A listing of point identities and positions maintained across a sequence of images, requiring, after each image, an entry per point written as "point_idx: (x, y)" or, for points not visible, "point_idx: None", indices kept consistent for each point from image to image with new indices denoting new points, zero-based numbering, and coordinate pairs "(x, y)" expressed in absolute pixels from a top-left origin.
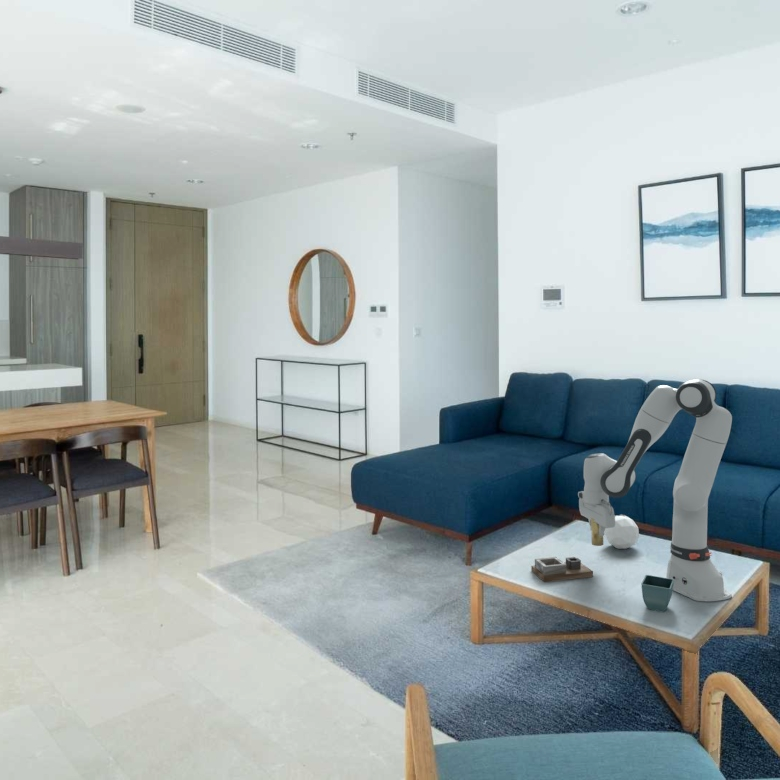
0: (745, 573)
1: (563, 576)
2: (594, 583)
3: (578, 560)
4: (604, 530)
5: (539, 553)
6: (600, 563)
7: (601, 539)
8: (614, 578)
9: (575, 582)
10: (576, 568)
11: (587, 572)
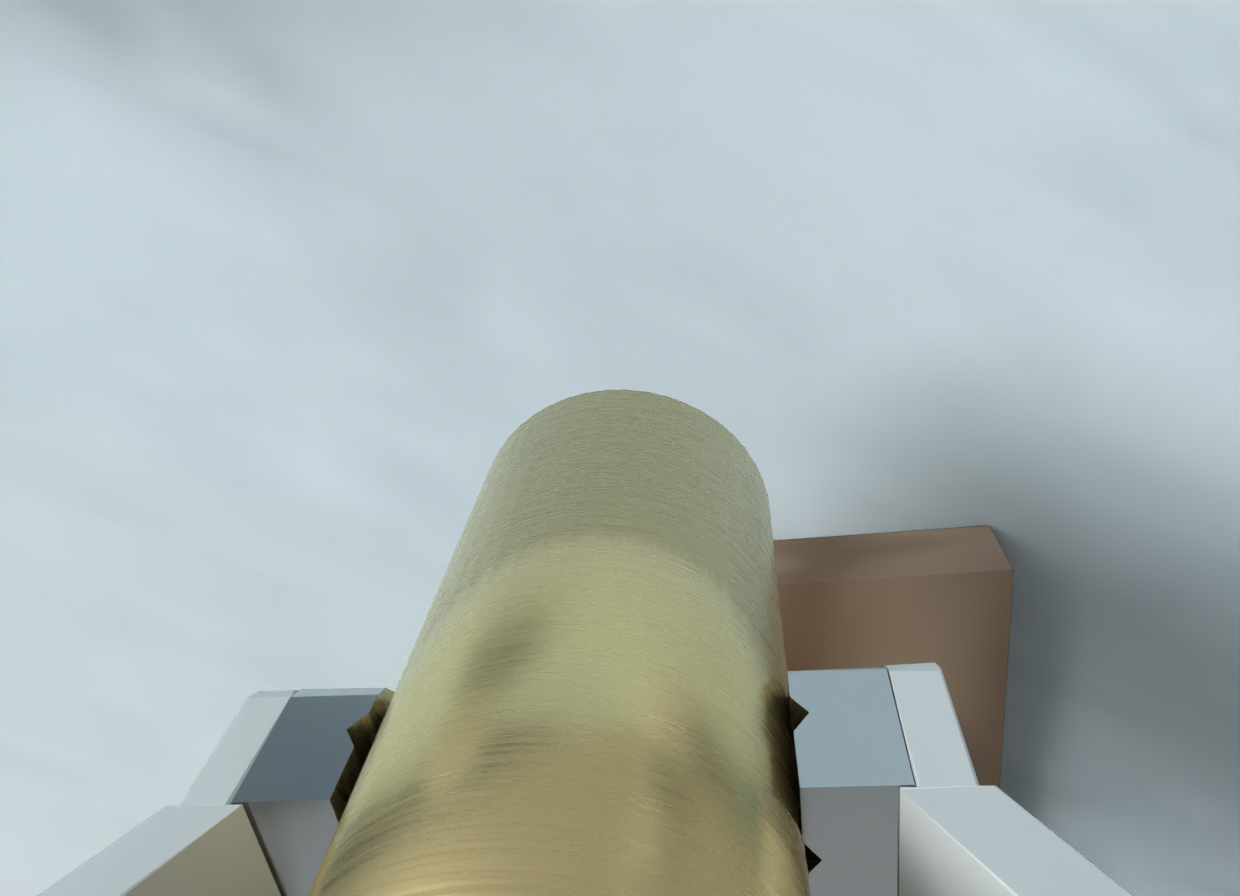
0: None
1: None
2: (1216, 594)
3: None
4: (1013, 808)
5: (78, 807)
6: (474, 197)
7: (775, 576)
8: (1164, 250)
9: (1090, 774)
10: None
11: (1006, 641)
